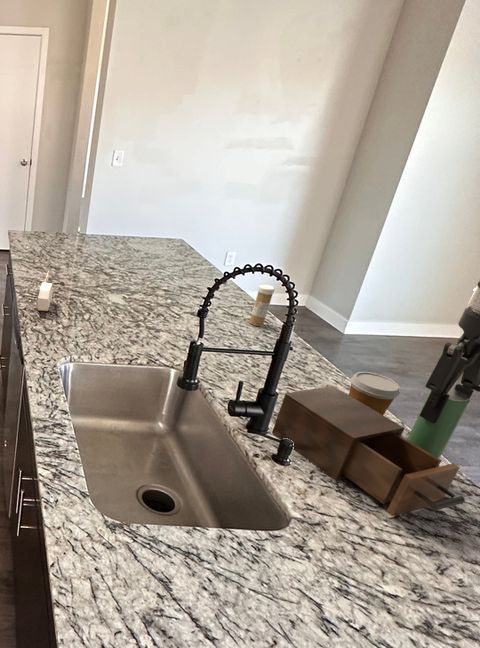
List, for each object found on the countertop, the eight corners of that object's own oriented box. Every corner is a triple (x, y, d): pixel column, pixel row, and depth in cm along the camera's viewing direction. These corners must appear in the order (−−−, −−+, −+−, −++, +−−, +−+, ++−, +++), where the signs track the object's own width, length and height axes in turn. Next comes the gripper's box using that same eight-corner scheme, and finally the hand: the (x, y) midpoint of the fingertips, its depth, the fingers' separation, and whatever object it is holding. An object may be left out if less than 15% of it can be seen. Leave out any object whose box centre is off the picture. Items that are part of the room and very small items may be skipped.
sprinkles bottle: (248, 320, 183) (259, 283, 178) (263, 323, 182) (274, 285, 176) (248, 324, 180) (259, 287, 174) (263, 328, 178) (275, 290, 172)
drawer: (463, 519, 100) (485, 482, 96) (415, 532, 97) (435, 495, 93) (365, 453, 117) (380, 419, 113) (320, 463, 114) (334, 428, 110)
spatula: (57, 285, 213) (47, 284, 214) (59, 265, 210) (49, 264, 211) (48, 314, 178) (36, 313, 179) (51, 291, 175) (38, 290, 176)
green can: (447, 456, 110) (478, 398, 104) (426, 460, 109) (457, 403, 103) (418, 438, 115) (446, 383, 109) (397, 443, 114) (425, 386, 108)
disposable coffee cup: (389, 427, 128) (408, 384, 123) (371, 440, 123) (391, 396, 118) (346, 408, 135) (363, 367, 130) (328, 419, 130) (344, 377, 125)
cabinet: (384, 469, 114) (404, 427, 109) (335, 480, 110) (354, 438, 105) (317, 424, 128) (332, 385, 124) (271, 432, 124) (285, 393, 120)
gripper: (503, 300, 104) (452, 400, 114) (434, 308, 99) (386, 413, 109) (551, 316, 98) (492, 420, 108) (479, 325, 92) (424, 434, 103)
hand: (439, 416), depth 108 cm, fingers closed on green can, 6 cm apart
